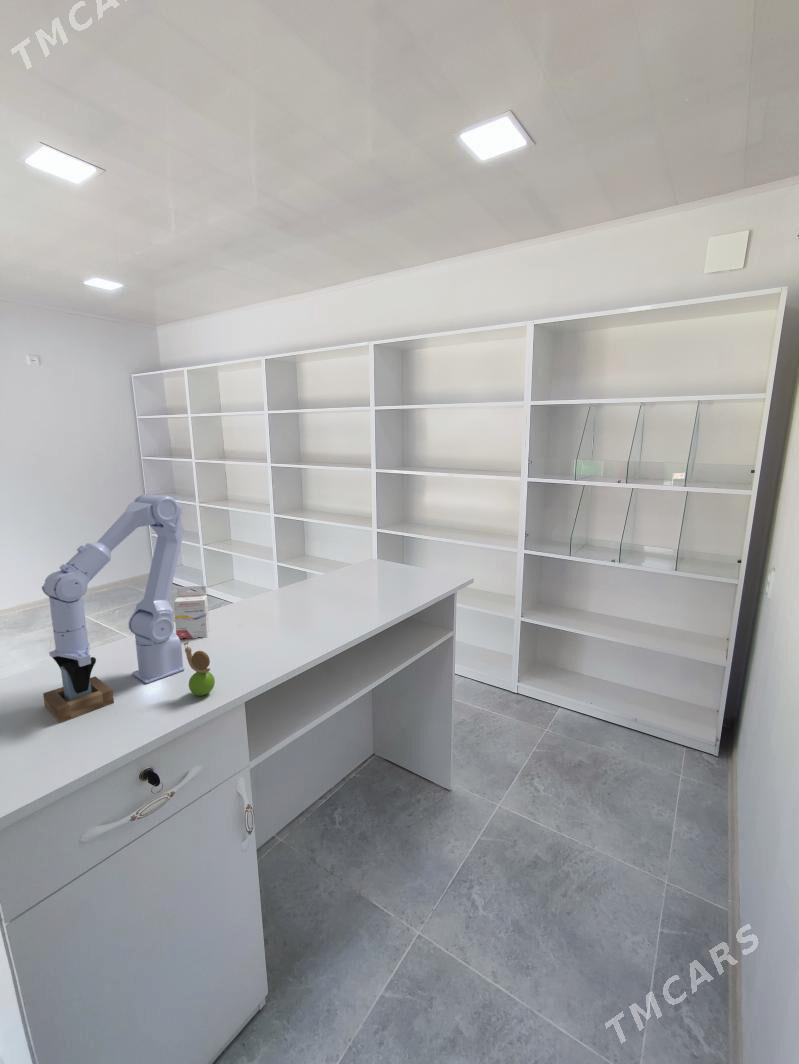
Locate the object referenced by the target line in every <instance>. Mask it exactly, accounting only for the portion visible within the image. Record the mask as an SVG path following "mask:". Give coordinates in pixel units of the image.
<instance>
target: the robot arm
mask: <svg viewBox="0 0 799 1064" xmlns="http://www.w3.org/2000/svg"><path fill="white" fill-rule="evenodd" d="M182 511H183V508H182V507H181V506H180V504H179V502H177V500H176V499H175V498H174V497H172V496H170V495H153V494H150V493H149V494H148V493H144V494H140V495H138V496H137V497H136V498H134V500H133V501H132V502H131V503H129V504H128V505H127V507H126V508H125V510H124V512H123V513H122V514H121V515H120V516H119V517H118V518H117V519H116V521H114V523H113V524H112V525H111V526H110V527H109V528H108V529H107V531H105V532H104V534H103V535H102V536H101V537H100V538H99V539H98V540H97V541H96V542H89V543H86V544H85V545H79V546H78V547H77V549H76V551H77V553H75V555H73V556H72V558H70V559H69V560H68V561H66V563H65V564H61V565H60V566H59V570H56V571H54V572H51V573H49V575H48V576H46V578H45V580H44V583H43V585H42V586H41V590H42V592H43V593H44V595H46V596H47V597H49V605H50V610H49V611H50V616H51V624H52V632H53V638H54V645H55V646H54V647H55V648H54V650H51V651H49V652H48V655H49V656H50V657H51V658H52V659H53V661H55V663H56V664H57V665H58V667H59V669H60V670H61V666H63V667H64V668H65V670H66V671H67V672H68V674H69V676H70V678H71V681H72V684H73V688H74V690H75V692H76V693H77V694H78V693H81V692H84V691H87V690H88V687H89V681H90V678H91V673H92V671H93V668H94V666H95V664H96V661H97V658H96V657H95V656H92V657H91V655H90V649H91V646H90V645H91V644H90V642H89V638H88V629H87V622H86V613H85V606H84V605H85V604H84V596H85V595H86V593H87V590H88V588H89V587H88V585H89V583H90V582H91V581H92V580H93V579H94V578H95V576H96V575H97V574H98V573H100V572H101V570H102V569H104V568H105V566H106V565H107V564H108V563H109V562H110V561H111V559H112V558H111V552H113V551H114V550H115V549H116V548H117V547H118V546H120V544H121V543H122V542H123V541H124V540H125V539H127V538H128V537H129V536H130V535H131V534H132V533H133V532H134V531H136V530H137V528H140V527H145V526H146V527H147V526H150V527H151V529H152V530H153V531H154V532H155V533H156V535H157V538H156V542H155V546H154V547H155V548H154V552H153V557H152V560H151V565H150V569H149V575H148V579H147V583H146V586H145V587H146V588H145V591H144V595H143V596H144V597H143V599H141V600H140V601H139V602H138V603H137V604H136V606H135V609H134V611H133V613H132V614H131V615H130V617H129V620H128V629H129V631H130V633H132V634H134V637H135V647H136V659H137V665H138V667H137V668H138V669H137V670H135V671H132V672H131V673H132V675H133V676H135V677H136V678H137V679H138V680H140V681H142V682H143V683H144V684H148V683H152V682H154V681H157V680H160V679H163V678H166V677H169V676H171V675H174V674H178V673H180V672H182V671H185V669H186V668H185V667H184V660H183V649H182V648H183V647H182V643H181V639H179V637H178V636H177V635H176V632H173V631H174V628H175V624H174V623H175V622H174V621H173V618H174V617H173V616H174V610H173V608H172V606H171V604H170V602H169V600H170V597H171V591H172V586H173V582H174V578H175V573H176V570H177V569H176V568H177V565H178V559H179V556H180V551H181V546H182V542H183V541H182V540H183V537H184V527H183V522H182V518H181V515H182Z"/></svg>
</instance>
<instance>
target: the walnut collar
mask: <svg viewBox="0 0 799 1064" xmlns="http://www.w3.org/2000/svg"><path fill="white" fill-rule="evenodd" d="M90 681H91V689H92V693H91V694H88V695H85V696H82V697H79V698H77V699H74V700H71V701H68V702H66V701H65V697H64V690H63V686H61V687H58V688H55V689H53V690H49V691H46V692H43V693H42V696H43V701H44V702H43V704H44V707H45V708H46V709H47V710H48V711H49V713H50V714H51V715H52V716H53V717H54V718H55V720H57V721H58V723H59V724H61V723H64V722H66V721H69V720H71V719H75V718H77V717H79V716H80V717H81V716H82V715H86V714H88V713H90V712H94V711H96V710H99V709H102V708H104V707H107V706H110V705H111V704H114V703H115V701H114V700H115V698H114V690H113V689H112V688H111V687H110V686H108V685H107V684H105V682H103V681H102V680H101V679H99V678H98V677H97V676H93V677H90Z"/></svg>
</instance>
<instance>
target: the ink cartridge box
mask: <svg viewBox="0 0 799 1064" xmlns="http://www.w3.org/2000/svg"><path fill="white" fill-rule="evenodd" d="M191 590H192V591H191ZM194 590H195V591H194ZM176 592H177V597H176V598H175V600H174V602H173V605H174V606H173V607H174V621H175V622H174V623H175V634H176V635H177V636H178V637H179V639H180V640H184V639H183V638H191V639H198V638H197V637H205V638H208V636H209V633H210V621H209V619H210V618H209V605H208V604H209V603H208V595H207V587H206V585H193V586H192V585H191V586H189V585H188V586H178V587H177V588H176Z"/></svg>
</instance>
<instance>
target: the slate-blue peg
mask: <svg viewBox="0 0 799 1064" xmlns="http://www.w3.org/2000/svg"><path fill="white" fill-rule="evenodd" d="M60 672H61V679H62V687H63V690H64V697H65V701H66V702H68V701H71V700H74V699H77V698H79V697H82V696H85V695H88V694H91V693H92V689H91V681H89V687H88V690H87V691H84V692H81V693H78V694H77V693H76V692H75V690H74V688H73V684H72V681H71V678H70V676H69V674H68V672H67V671H66V670H65V668H64V667H63V666H61V669H60Z"/></svg>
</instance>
